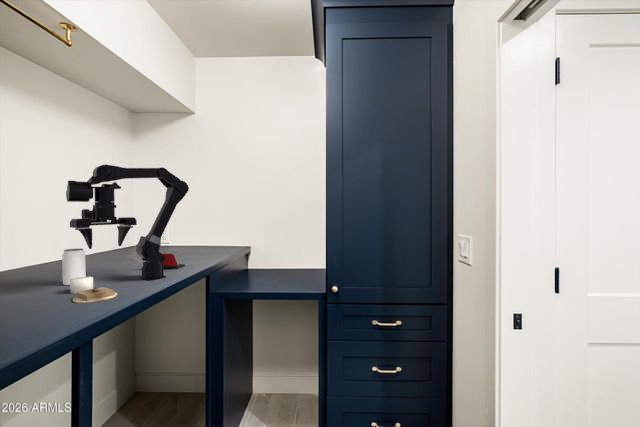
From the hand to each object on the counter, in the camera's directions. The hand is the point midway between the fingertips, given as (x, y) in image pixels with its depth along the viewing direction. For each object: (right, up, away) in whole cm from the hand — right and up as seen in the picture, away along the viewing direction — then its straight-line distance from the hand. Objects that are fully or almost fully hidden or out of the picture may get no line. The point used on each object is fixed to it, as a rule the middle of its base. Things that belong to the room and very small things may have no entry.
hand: (105, 247), depth 113 cm
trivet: (+7, -13, -15) cm, 21 cm away
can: (-13, -13, +3) cm, 19 cm away
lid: (+7, -13, -15) cm, 21 cm away
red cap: (+6, -13, +31) cm, 34 cm away
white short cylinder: (-3, -13, -7) cm, 15 cm away
